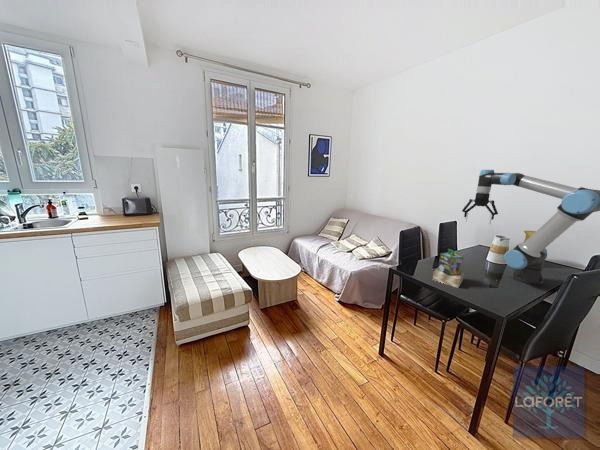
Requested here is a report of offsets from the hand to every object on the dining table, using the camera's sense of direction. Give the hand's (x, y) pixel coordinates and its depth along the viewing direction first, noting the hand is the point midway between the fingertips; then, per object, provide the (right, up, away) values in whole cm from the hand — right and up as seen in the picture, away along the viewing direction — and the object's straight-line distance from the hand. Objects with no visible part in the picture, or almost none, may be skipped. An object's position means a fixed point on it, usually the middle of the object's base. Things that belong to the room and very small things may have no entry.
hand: (477, 223), depth 170 cm
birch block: (-31, -37, -16) cm, 51 cm away
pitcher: (+53, -31, +17) cm, 63 cm away
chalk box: (-31, -31, -17) cm, 47 cm away
